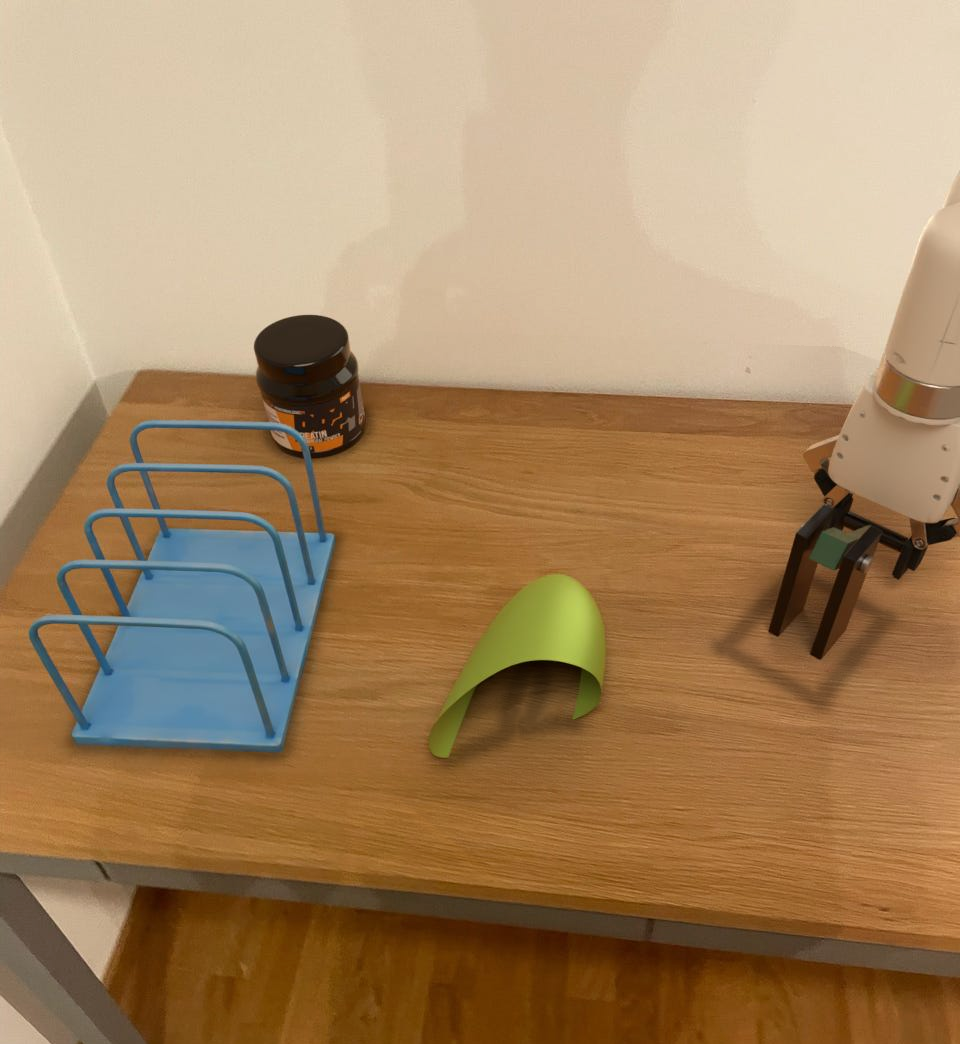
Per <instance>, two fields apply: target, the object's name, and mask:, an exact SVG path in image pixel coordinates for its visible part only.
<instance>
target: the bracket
mask: <svg viewBox="0 0 960 1044" xmlns="http://www.w3.org/2000/svg"><path fill="white" fill-rule="evenodd" d="M834 511H835V509H834V508H832V507H830V506H827V505H825V504H823V503H822V505H821V506H820V507H819V508H818V510H816V511H815V512H814V513H813V514H812V516H810V518H809V519H808V520H807V521H806V522H805V523H804V524H802V525H800V526H799V528H798V529H797V531H796V532H795V535H794V538H793V543H792V545H791V549H790V552H789V553H790V554H789V556H788V559H787V564H786V566H785V570H784V574H783V576H782V581H781V585H780V588H779V590H778V591H779V592H778V595H777V598H776V603H775V606H774V608H773V612H772V616H771V619H770V624H769V628H768V631H767V632H768V633H769V634H771V635H773V636H775V637H777V638H778V637H780V636H781V635H782V634H783V632H784V631H785V630H786V629H787V628H788V627H789V626H790V624H791V623H792V622H793V621H794V620H795V619H796V618H797V617H798V616H799V614H800V613H801V612H802V611H803V610H804V608H805V605H806V602H807V599H808V596H809V593H810V589H811V587H812V582H813V580H814V576H815V574H816V570H817V568H818V564H819V563H817V562H815V561H813V560H811V559H809V557H810V555H811V553H812V551H813V549H814V546H815V544H816V542H817V540H818V538H819V536H820V534H821V532H822V531H824V530H827V529H829V526H830V523H831V520H832V517H833V514H834ZM882 532H883V531H882V530H880V529H878V528H876V527H874V526H870V527H869V528H868V529H867V530H866V531H865V533H864V534H863V535H862V536H861V537H860V538H859V539H858V540H857V542H856V543H855V544H854V545H853V546H852V547H851V548H850V549H849V550H848V552H847V553H846V554H845V555H844V556H843V559H842V562H841V565H840V568H839V569H838V571H837V574H836V577H835V579H834V583H833V586H832V588H831V591H830V594H829V596H828V600H827V603H826V606H825V609H824V611H823V615H822V618H821V620H820V623H819V627H818V630H817V632H816V635H815V638H814V641H813V644H812V647H811V649H810V653H809V655H810V656H812V657H814V658H815V659H817V660H819V661H821V660H822V659H823V658H824V657H825V655H826V654H827V653H828V652H829V651H830V650H831V648H832V647H833V646H834V645H835V644H836V642H837V641H838V640H839V639H840V638H841V636H843V634H844V633H845V632H846V631H847V628H848V626H849V622H850V620H851V617H852V615H853V612H854V609H855V607H856V604H857V601H858V598H859V596H860V593H861V591H862V588H863V586H864V582H865V580H866V577H867V574H868V572H869V570H870V569H871V567H872V565H873V563H874V561H875V557H874V556H875V553H876V550H877V548H878V544H880V543H879V540H880V537H881V535H882Z"/></svg>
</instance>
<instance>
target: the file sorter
mask: <svg viewBox="0 0 960 1044" xmlns="http://www.w3.org/2000/svg"><path fill="white" fill-rule="evenodd" d="M148 429H207V430H209V429H211V430H252V431H254V430H256V431H257V430H258V431H270V430H276V431H281V432H284V433H286V434H288V435H290V436H292V437H293V438H295V439H296V440H297V441H298V443H299V444H300V446H301V448H302V451H303V455H304V458H303V460H304V465H305V470H306V474H307V479H308V485H309V489H310V495H311V499H312V505H313V510H314V514H315V519H316V525H317V531H318V532H305V530H304V526H303V521H302V518H301V514H300V509H299V505H298V501H297V497H296V494H295V490H294V487H293V485H292V483H291V482H290V481H289V480H288V478H287V477H286V476H284V475H283V474H282V473H280V472H279V471H277V470H275V469H273V468H271V467H267V466H264V465H263V466H262V465H254V464H253V465H252V464H251V465H250V464H249V465H248V464H213V463H212V464H211V463H210V464H209V463H208V464H207V463H168V462H167V463H165V462H164V463H161V462H146V463H145V462H144V459H143V456H142V453H141V450H140V446H139V444H138V435H139V433H141V432H142V431H144V430H148ZM129 444H130V448H131V449H130V450H131V452H132V455H133V458H134V460H135V462H128V463H127V462H126V463H122V464H119V465H117V466H115V467H114V468H112V469H111V471H110V472H109V474H108V476H107V479H106V487H107V491H108V493H109V496H110V499H111V501H112V503H113V505H114V507H115V508H114V507H111V508H110V507H109V508H101V509H97V510H95V511H92V512H91V513H89V515H88V516H87V518H86V520H85V522H84V524H83V525H84V526H83V529H84V531H83V532H84V534H85V537H86V540H87V542H88V544H89V546H90V549H91V551H92V553H93V556H94V558H95V559H90V558H89V559H87V558H86V559H85V558H84V559H74V560H70V561H68V562H66V563H64V564H63V565H62V566H61V567H60V568H59V570H58V572H57V575H56V583H57V586H58V588H59V590H60V593H61V595H62V597H63V599H64V601H65V602H66V605H67V606H68V609H69V610H70V612H71V614H47V615H43V616H40V617H38V618H36V619H35V620H34V621H33V623H32V624H31V626H30V628H29V629H28V639H29V640H30V641H29V642H30V643H31V645H32V648H34V650H35V652H36V654H37V656H38V657H39V659H40V661H41V664H42V665H43V666H44V668H45V670H46V671H47V673H48V675H49V677H50V678H51V680H52V681H53V684H54V685H55V687H56V688H57V690H58V692H59V693H60V695H61V697H62V699H63V700H64V702H65V704H66V706H67V707H68V709H69V710H70V712H71V713H72V715H73V717H74V719H75V721H76V723H75V725H74V727H73V730H72V731H71V737H72V739H73V741H74V743H75V744H76V745H79V746H107V747H129V748H130V747H131V748H157V749H177V750H178V749H180V750H181V749H182V750H183V749H184V750H203V751H204V750H206V751H207V750H208V751H230V752H231V751H232V752H233V751H234V752H253V753H254V752H255V753H274V754H275V753H276V754H277V753H278V754H279V753H282V751H283V750H284V748H285V743H286V739H287V734H288V731H289V727H290V723H291V718H292V714H293V711H294V707H295V703H296V700H297V695H298V691H299V686H300V683H301V680H302V675H303V672H304V668H305V667H304V666H305V663H306V660H307V657H308V656H307V655H308V651H309V647H310V643H311V639H312V635H313V632H314V627H315V624H316V619H317V615H318V612H319V607H320V604H321V600H322V596H323V593H324V592H323V591H324V589H325V588H324V587H325V584H326V581H327V580H326V579H327V575H328V572H329V568H330V563H331V561H332V555H333V551H334V548H335V544H336V535H335V534H334V533H332V532H326V529H325V524H324V518H323V514H322V512H323V511H322V508H321V504H320V503H321V502H320V496H319V492H318V486H317V480H316V476H315V471H314V466H313V461H312V460H313V459H311V455H310V451H309V447H308V444H307V442H306V440H305V438H304V437H303V436H302V435H301V434H300V433H299V432H298V431H296V430H295V429H293V428H292V427H290V426H287V425H285V424H281V423H273V422H268V421H238V420H237V421H234V420H233V421H232V420H191V419H189V420H188V419H187V420H183V419H182V420H181V419H152V420H150V419H149V420H144V421H142V422H140V423H137V424H136V426H134V428H133V430H132V431H131V433H130V437H129ZM127 472H139V475H140V477H141V479H142V482H143V485H144V488H145V490H146V493H147V495H148V499H149V501H150V503H151V507H152V508H125V506H124V504H123V501H122V500H121V498H120V496H119V493H118V490H117V487H116V484H115V479H116V477H118V476H119V475H120V474H124V473H127ZM148 472H153V473H154V472H157V473H158V472H161V473H162V472H163V473H164V472H165V473H168V472H169V473H170V472H171V473H173V472H174V473H211V474H213V473H222V474H253V475H254V474H255V475H263V476H266V477H269V478H271V479H273V480H275V481H277V482H278V483H279V484H280V485H281V486H283V489H284V490H285V492H286V495H287V498H288V502H289V506H290V510H291V514H292V518H293V521H294V526H295V530H296V531H277V529H276V528H275V527H274V526H273V524H272V523H270V522H269V521H267V520H266V519H265V518H263V517H260V516H258V515H255V514H253V513H250V512H244V511H225V510H194V509H193V510H192V509H162V508H161V506H160V504H159V501H158V497H157V494H156V492H155V490H154V487H153V484H152V482H151V479H150V476H149V473H148ZM110 517H111V518H119V519H120V522H121V524H122V527H123V530H124V531H125V533H126V537H127V538H128V540H129V543H130V545H131V548H132V550H133V553H134V555H135V557H136V560H135V559H133V560H132V559H106V558H105V554H104V553H103V551H102V549H101V546H100V545H99V542H98V539H97V537H96V535H95V534H94V530H93V523H94V522H96V521H97V520H100V519H102V518H103V519H104V518H110ZM129 518H151V519H155V518H156V519H157V522H158V525H159V528H160V530H159V532H158V534H157V536H156V538H155V541H154V543H153V544H152V545H153V546H152V548H151V550H150V552H149V555H148V557H147V560H146V558H145V555H144V553H143V551H142V548H141V546H140V543H139V541H138V539H137V536H136V534H135V531H134V529H133V527H132V524H131V521H130V519H129ZM165 519H186V520H188V519H190V520H192V519H193V520H217V521H240V522H247V523H251V524H254V525H256V526H259V527H260V528H262V529H263V530H241V529H240V530H238V529H237V530H236V529H235V530H233V529H206V528H205V529H204V528H202V529H201V528H168V525H167V522H166V520H165ZM78 569H100V571H101V574H102V576H103V577H104V580H105V582H106V584H107V586H108V589H109V591H110V592H111V594H112V597H113V599H114V601H115V604H116V606H117V607H118V609H119V612H120V614H121V616H117V615H116V616H114V615H113V616H111V615H109V616H108V615H88V614H87V615H86V614H85V615H84V614H83V613H82V611H81V610H80V607H79V605H78V604H77V601H76V599H75V597H74V595H73V593H72V592H71V589H70V587H69V585H68V582H67V580H66V575H67V573H68V572H71V571H72V570H78ZM111 570H137V571H138V570H139V571H141V572H140V575H139V577H138V580H137V583H136V585H135V587H134V589H133V592H132V594H131V596H130V597H129V601H128V603H127V604H126V602H125V600H124V598H123V596H122V594H121V592H120V590H119V587H118V585H117V582H116V580H115V578H114V576H113V574H112V572H111ZM47 625H78V627H79V629H80V631H81V633H82V635H83V636H84V638H85V640H86V642H87V644H88V646H89V648H90V649H91V651H92V653H93V655H94V657H95V659H96V661H97V662H98V664H99V666H100V667H99V670H98V671H97V674H96V677H95V678H94V681H93V683H92V686H91V689H90V690H89V693H88V695H87V698H86V700H85V702H84V704H83V706H82V708H81V709H80V707H79V705H78V703H77V702H76V699H75V697H74V696H73V694H72V693H71V691H70V689H69V687H68V685H67V684H66V682H65V681H64V679H63V677H62V676H61V673H60V672H59V670H58V668H57V666H56V665H55V663H54V661H53V660H52V657H51V656H50V654H49V653H48V651H47V649H46V647H45V645H44V643H43V641H42V639H41V638H40V636H39V635H40V634H39V629H40V628H42V627H43V626H47ZM89 625H90V626H117V628H116V630H115V633H114V636H113V638H112V640H111V642H110V644H109V647H108V649H107V651H106V654H105V655H104V653H103V651H102V649H101V647H100V645H99V643H98V641H97V639H96V637H95V636H94V634H93V632H92V630H91V628H90V626H89Z"/></svg>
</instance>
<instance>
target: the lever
mask: <svg viewBox="0 0 960 1044" xmlns="http://www.w3.org/2000/svg"><path fill="white" fill-rule="evenodd" d="M841 525H842V526H843V527H844V528H845V529H848V530H849V531H850V532H846V531H843V530H842V531H841V530H839V529H837V528H835V527H832V528H830V529H827V530H824V531H822V532H821V534H820V536H819V538H818V540H817V542H816V544H815V546H814V549H813V551H812V553H811V555H810V557H809V559H811V560H813V561H815V562H817V563H818V564H819V565H821V566H823V567H825V568H827V569H829V570H831V571H832V572H833V571H834V572H835V571H837V570H839V568H840V565H841V562H842V559H843V556H844V555H845V554H846V553H847V552H848V550H849V549H850V548H851V547H852V546H853V545H854V544H855V543H856V542H857V540H858V539H859V538H860V537H861V536H862V535H863V534H864V533H865V531H866V530H867V529H868V528H869V527H870V526H874V527H876V528H878V529H880V530H882V531H883V532H882V535H881V537H880V540H879V543H878V544H880V545H882V546H884V547H887V548H888V549H891V550H893V551H895V552H897V553H901V550H902V548H903V546H904V544H905V543H906V541H907V540H908V539H909V536H906V535H904V534H902V533H899V532H897V531H895V530H892V529H891V528H888V527H886V526H884V525H882V524H880V523H877V522H875V521H873V520H871V519H868V518H867V517H864V516H863V515H860V514H857V513H855V512H853V511H851V510H850V511H848V512H847V513H846V515H845V516H844V518H843V520H842V523H841Z"/></svg>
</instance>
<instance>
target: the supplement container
mask: <svg viewBox="0 0 960 1044" xmlns="http://www.w3.org/2000/svg"><path fill="white" fill-rule="evenodd" d="M253 352H254V355H255V356H254V357H255V360H256V363H257V367H256V371H255V380H256V384H257V387H258V388H259V390H260V395H261V397H262V398H261V399H262V403H263V406H264V411H265V415H266V419H267V422H273V423H281V424H285V425H287V426H290V427H292V428H293V429H295V430H296V431H298V432H299V433H300V434H301V435H302V436H303V437H304V438H305V440H306V442H307V444H308V447H309V451H310V455H311V460H315V459H324V458H330V457H333V456H336V455H339V454H341V453H343V452H346V451H348V450H349V449H351V448H352V447H354V446H355V445H356V444H358V443H359V442H360V441H361V439H362V438H363V437H364V435H365V433H366V430H367V417H366V413H365V408H364V401H363V396H362V389H361V383H360V377H359V363H358V359H357V357H356V356H355V354H354V352H353V351H352V350H351V345H350V338H349V333H348V330H347V329H346V327H345V326H344V325H343V324H342V323H341V322H339V321H338V320H336V319H334V318H332V317H328V316H325V315H319V314H299V315H292V316H288V317H284V318H281V319H279V320H276V321H274V322H272V323H270V324H269V325H267V326H266V327H264V328H263V329H262V330H261V331H260V332H259V333H258V335H257V336H256V337H255V340H254V342H253ZM269 434H270V438H271V440H272V443H273V444H274V445H275V446H276V448H277V449H278V450H279V451H281V452H282V453H284V454H286V455H288V456H291V457H295V458H299V459H304V455H303V451H302V448H301V446H300V444H299V443H298V441H297V440H296V439H295V438H293V437H292V436H290V435H288V434H286V433H284V432H281V431H276V430H269Z"/></svg>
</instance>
